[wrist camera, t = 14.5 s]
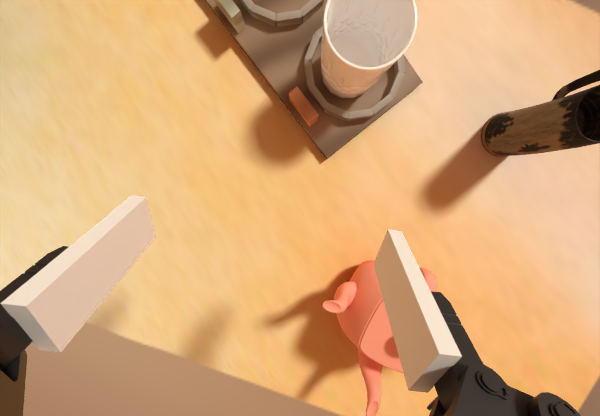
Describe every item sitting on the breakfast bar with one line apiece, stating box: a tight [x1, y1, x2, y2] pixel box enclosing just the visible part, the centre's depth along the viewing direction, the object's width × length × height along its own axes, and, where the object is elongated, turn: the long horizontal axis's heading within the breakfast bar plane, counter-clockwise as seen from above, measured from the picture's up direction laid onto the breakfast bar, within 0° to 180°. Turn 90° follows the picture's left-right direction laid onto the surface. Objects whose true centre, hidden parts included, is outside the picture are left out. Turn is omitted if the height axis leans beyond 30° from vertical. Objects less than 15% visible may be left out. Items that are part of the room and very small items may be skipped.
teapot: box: [322, 261, 486, 416], centre depth 30 cm, size 14×14×11 cm
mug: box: [481, 70, 600, 156], centre depth 27 cm, size 8×6×12 cm
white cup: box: [321, 0, 417, 98], centre depth 26 cm, size 8×8×10 cm
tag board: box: [206, 0, 422, 159], centre depth 29 cm, size 27×15×4 cm, turn 38°
